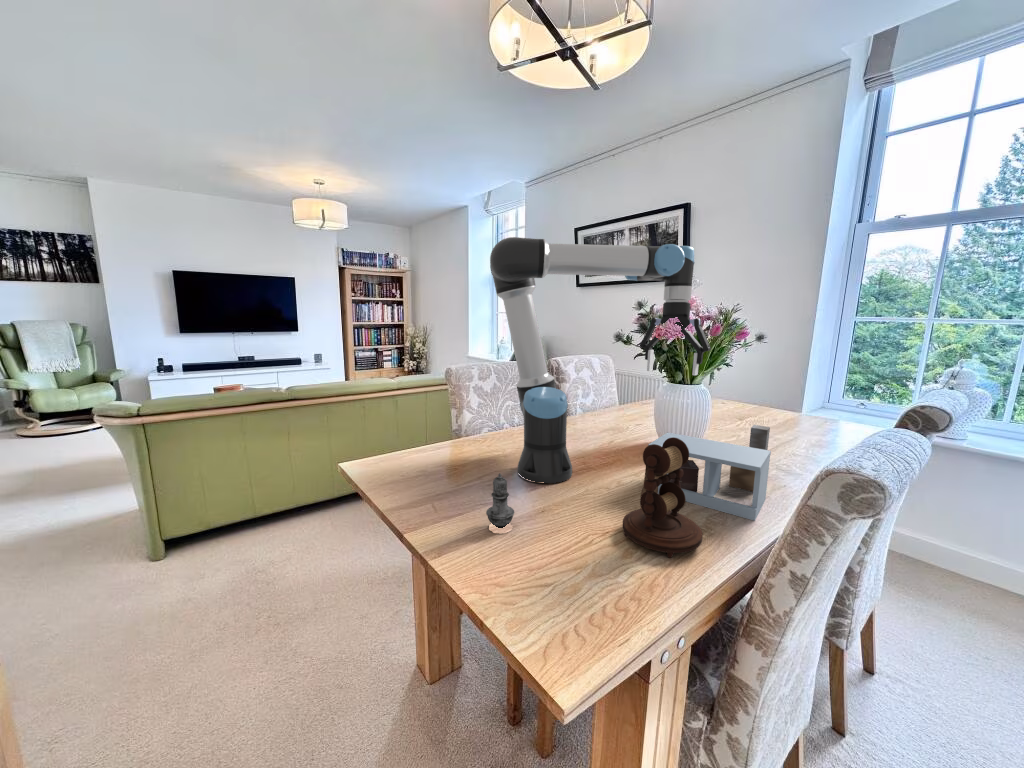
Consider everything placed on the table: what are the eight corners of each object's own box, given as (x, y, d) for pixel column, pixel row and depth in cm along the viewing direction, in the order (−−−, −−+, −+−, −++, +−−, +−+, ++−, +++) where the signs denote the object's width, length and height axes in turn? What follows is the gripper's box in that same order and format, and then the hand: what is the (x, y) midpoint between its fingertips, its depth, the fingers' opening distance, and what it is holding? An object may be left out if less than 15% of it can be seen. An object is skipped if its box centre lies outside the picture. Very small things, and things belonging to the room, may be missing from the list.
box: (697, 497, 98) (699, 468, 97) (671, 495, 99) (672, 466, 98) (691, 486, 104) (693, 459, 103) (666, 485, 105) (668, 458, 104)
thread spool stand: (649, 512, 91) (654, 426, 87) (715, 541, 79) (724, 443, 76) (607, 535, 82) (610, 439, 78) (675, 570, 70) (683, 460, 67)
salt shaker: (504, 538, 81) (504, 481, 79) (480, 530, 84) (479, 475, 82) (519, 525, 86) (519, 471, 84) (496, 518, 89) (496, 465, 87)
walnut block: (728, 486, 104) (732, 441, 102) (746, 463, 120) (749, 424, 118) (755, 492, 101) (760, 446, 98) (769, 468, 116) (774, 427, 114)
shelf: (645, 490, 102) (648, 444, 100) (665, 474, 112) (667, 432, 110) (754, 520, 87) (760, 467, 85) (765, 498, 97) (771, 450, 95)
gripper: (726, 301, 115) (719, 375, 118) (641, 302, 131) (637, 367, 134) (719, 300, 109) (712, 378, 113) (631, 301, 125) (627, 370, 129)
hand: (671, 372), depth 123 cm, fingers open, 13 cm apart
